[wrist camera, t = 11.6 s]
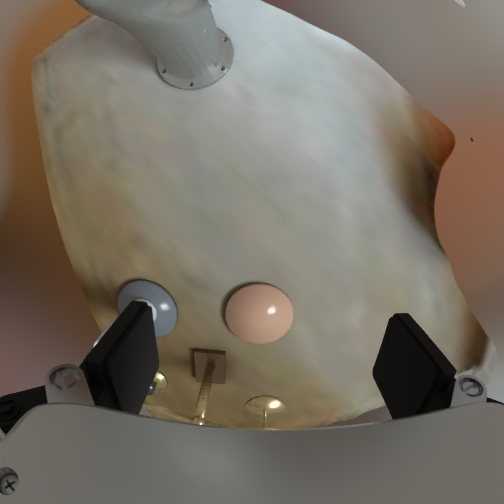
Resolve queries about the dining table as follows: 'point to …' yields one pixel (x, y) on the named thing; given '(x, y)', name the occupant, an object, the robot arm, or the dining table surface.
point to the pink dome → (259, 313)
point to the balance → (208, 372)
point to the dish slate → (157, 297)
